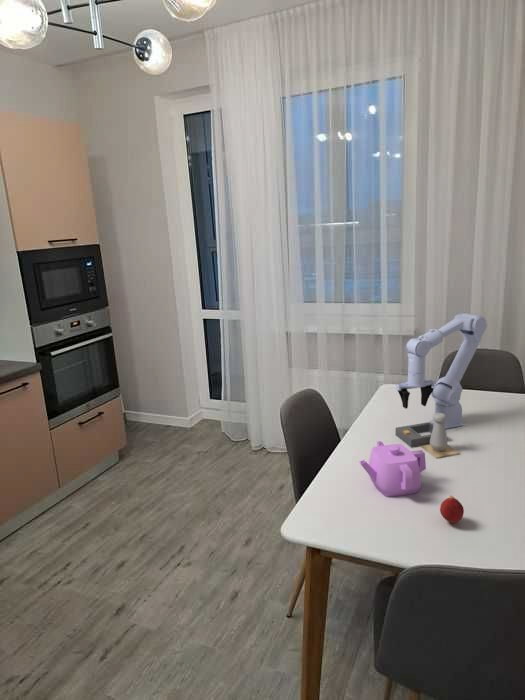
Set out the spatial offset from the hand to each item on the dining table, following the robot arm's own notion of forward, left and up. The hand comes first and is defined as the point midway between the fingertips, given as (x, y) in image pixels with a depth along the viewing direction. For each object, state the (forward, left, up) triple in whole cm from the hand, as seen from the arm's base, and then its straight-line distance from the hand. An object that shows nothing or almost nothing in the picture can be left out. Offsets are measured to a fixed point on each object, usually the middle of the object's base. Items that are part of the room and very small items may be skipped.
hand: (414, 406), depth 182 cm
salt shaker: (0, +16, -10) cm, 19 cm away
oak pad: (-1, +16, -10) cm, 19 cm away
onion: (+20, +53, -11) cm, 58 cm away
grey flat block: (0, +5, -10) cm, 12 cm away
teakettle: (+25, +30, -11) cm, 41 cm away
